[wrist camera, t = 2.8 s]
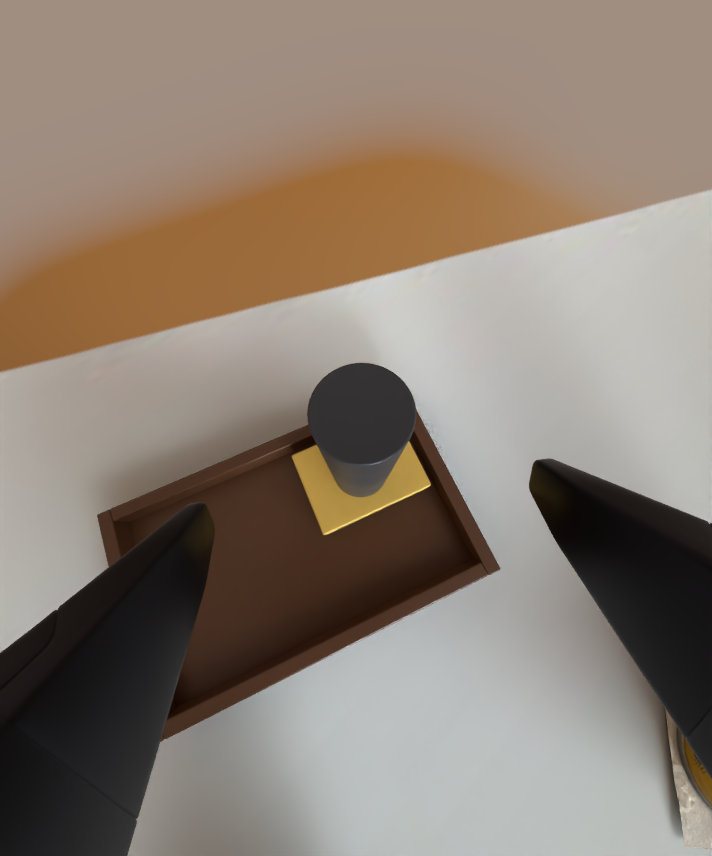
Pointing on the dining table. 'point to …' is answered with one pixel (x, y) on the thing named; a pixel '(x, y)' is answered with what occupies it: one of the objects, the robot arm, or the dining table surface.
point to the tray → (299, 568)
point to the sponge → (359, 445)
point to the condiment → (691, 790)
